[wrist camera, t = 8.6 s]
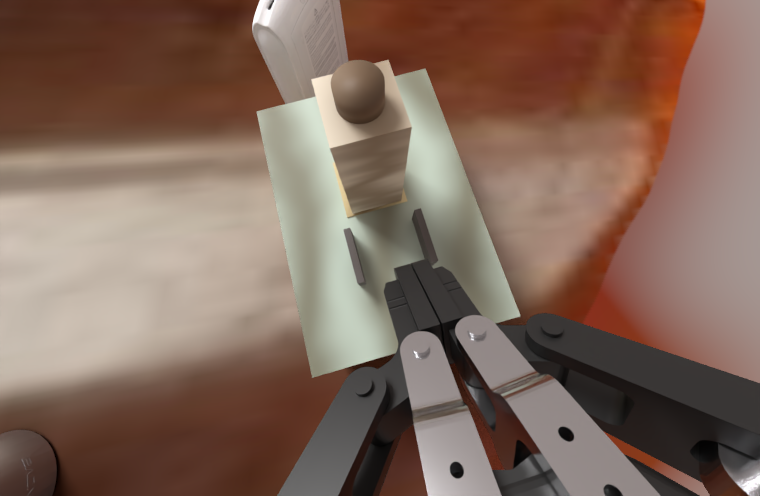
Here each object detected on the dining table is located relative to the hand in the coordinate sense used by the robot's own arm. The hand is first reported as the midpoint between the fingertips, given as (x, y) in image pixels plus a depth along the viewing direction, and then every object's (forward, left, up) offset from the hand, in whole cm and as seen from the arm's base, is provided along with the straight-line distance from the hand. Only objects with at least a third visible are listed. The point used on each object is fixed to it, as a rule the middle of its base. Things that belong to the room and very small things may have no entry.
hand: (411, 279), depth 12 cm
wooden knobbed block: (0, +9, -8) cm, 12 cm away
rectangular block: (0, +7, -17) cm, 18 cm away
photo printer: (-2, +27, -17) cm, 32 cm away
